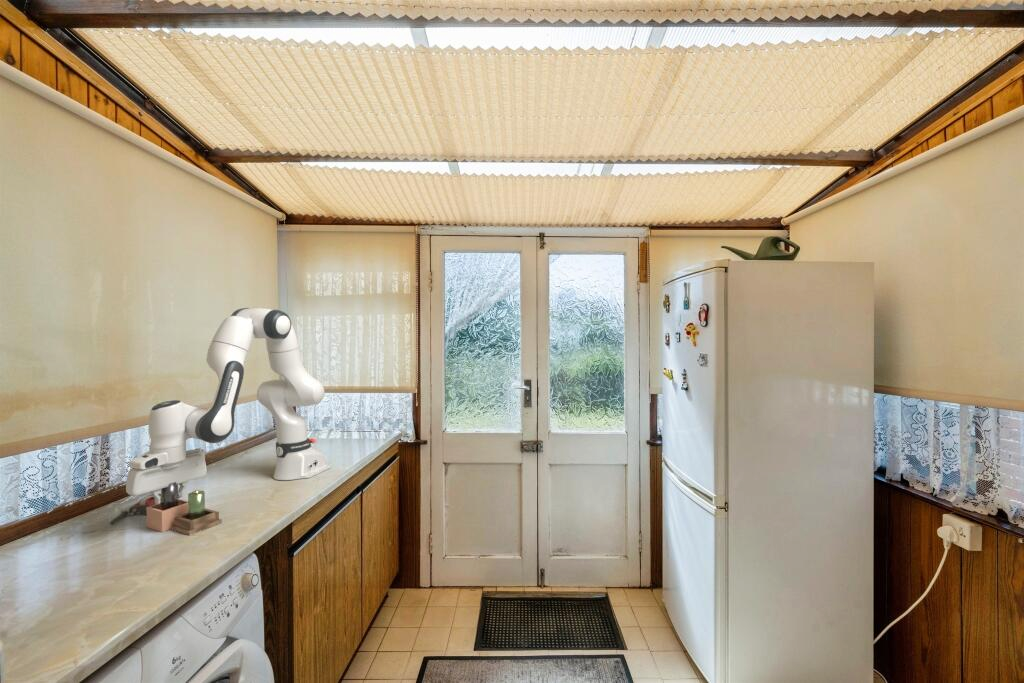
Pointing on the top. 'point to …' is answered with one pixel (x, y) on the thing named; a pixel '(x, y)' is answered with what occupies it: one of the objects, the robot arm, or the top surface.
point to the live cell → (196, 504)
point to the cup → (165, 515)
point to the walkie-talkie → (137, 508)
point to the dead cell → (170, 496)
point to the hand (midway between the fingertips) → (169, 500)
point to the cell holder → (196, 522)
